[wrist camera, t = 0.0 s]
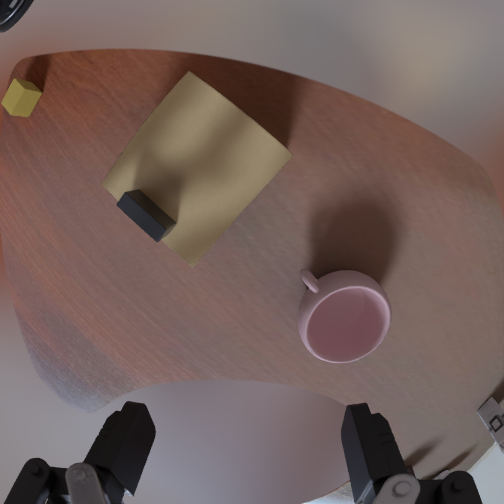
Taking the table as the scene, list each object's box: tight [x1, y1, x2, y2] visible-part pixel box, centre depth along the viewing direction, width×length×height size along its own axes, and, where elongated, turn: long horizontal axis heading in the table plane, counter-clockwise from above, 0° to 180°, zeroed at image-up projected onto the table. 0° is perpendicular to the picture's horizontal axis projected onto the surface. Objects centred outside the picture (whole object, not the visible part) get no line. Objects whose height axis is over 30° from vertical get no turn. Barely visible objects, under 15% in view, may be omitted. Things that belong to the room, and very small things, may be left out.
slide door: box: [102, 71, 294, 267], centre depth 18 cm, size 10×11×3 cm
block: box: [2, 78, 42, 117], centre depth 24 cm, size 4×4×4 cm
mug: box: [298, 268, 392, 363], centre depth 29 cm, size 12×10×6 cm
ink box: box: [477, 397, 504, 454], centre depth 31 cm, size 9×5×15 cm, turn 51°
